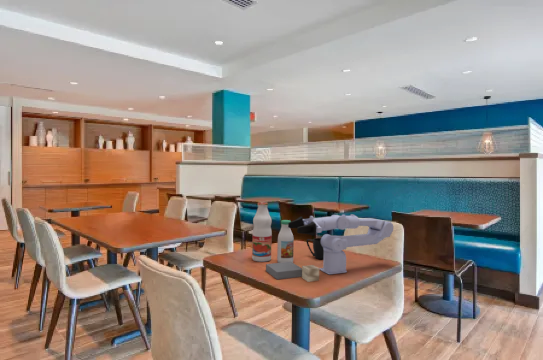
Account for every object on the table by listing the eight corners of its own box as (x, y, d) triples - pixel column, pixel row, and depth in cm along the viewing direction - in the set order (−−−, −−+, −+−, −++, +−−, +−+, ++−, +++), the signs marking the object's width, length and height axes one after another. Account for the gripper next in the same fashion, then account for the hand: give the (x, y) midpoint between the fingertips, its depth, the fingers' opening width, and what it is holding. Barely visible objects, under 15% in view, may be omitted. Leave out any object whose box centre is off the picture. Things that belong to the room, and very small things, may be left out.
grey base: (290, 268, 147) (290, 261, 147) (303, 276, 136) (303, 269, 136) (265, 270, 142) (266, 264, 142) (277, 279, 131) (277, 272, 131)
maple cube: (312, 276, 136) (312, 264, 136) (318, 280, 131) (319, 268, 131) (301, 278, 134) (302, 266, 134) (307, 282, 129) (308, 269, 129)
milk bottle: (274, 263, 155) (275, 221, 154) (280, 259, 162) (281, 218, 161) (290, 265, 152) (291, 222, 151) (295, 261, 159) (296, 220, 158)
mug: (310, 254, 173) (310, 236, 172) (331, 257, 166) (332, 239, 166) (303, 257, 166) (303, 238, 166) (325, 261, 159) (325, 242, 159)
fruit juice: (272, 257, 165) (273, 202, 164) (270, 262, 155) (271, 203, 155) (253, 256, 166) (254, 201, 165) (250, 261, 156) (251, 203, 156)
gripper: (312, 211, 146) (285, 214, 141) (331, 219, 133) (302, 222, 128) (311, 226, 147) (284, 230, 142) (330, 236, 134) (301, 240, 129)
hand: (293, 227), depth 135 cm, fingers open, 7 cm apart
